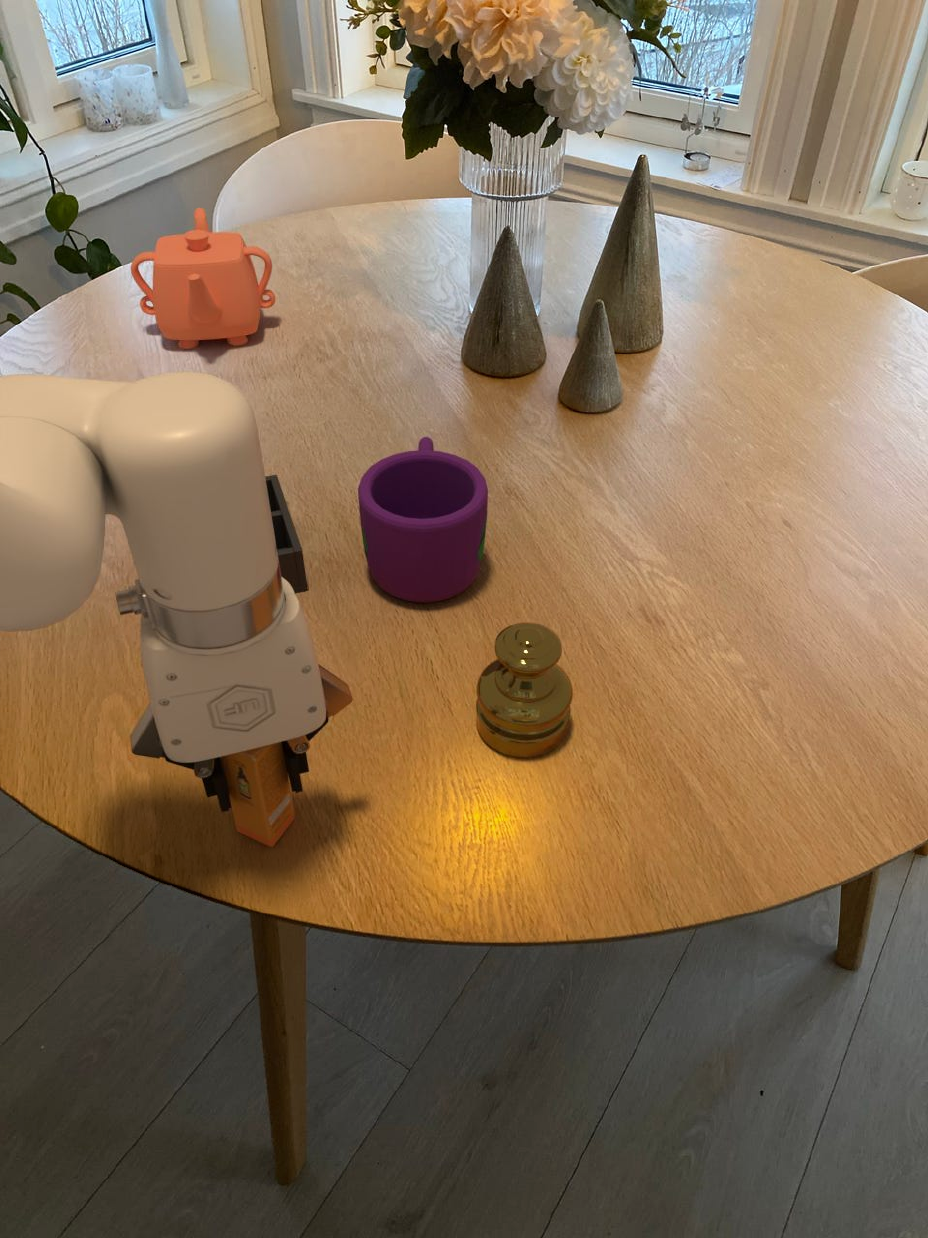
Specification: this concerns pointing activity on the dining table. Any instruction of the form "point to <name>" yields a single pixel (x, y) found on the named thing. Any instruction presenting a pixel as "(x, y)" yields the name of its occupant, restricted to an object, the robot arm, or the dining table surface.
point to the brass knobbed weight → (524, 692)
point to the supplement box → (260, 792)
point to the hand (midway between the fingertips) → (258, 784)
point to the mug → (423, 523)
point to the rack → (286, 537)
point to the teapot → (204, 286)
